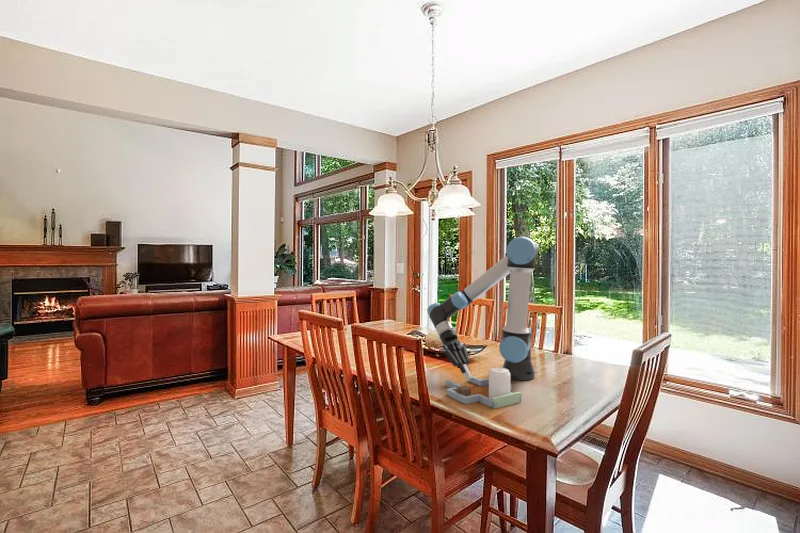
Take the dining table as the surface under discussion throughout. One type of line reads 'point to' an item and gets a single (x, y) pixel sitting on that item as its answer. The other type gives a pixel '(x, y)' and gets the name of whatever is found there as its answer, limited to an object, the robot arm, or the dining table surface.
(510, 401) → the end wall
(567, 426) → the dining table surface
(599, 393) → the dining table surface
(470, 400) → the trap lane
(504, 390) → the beverage can
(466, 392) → the walnut cube
